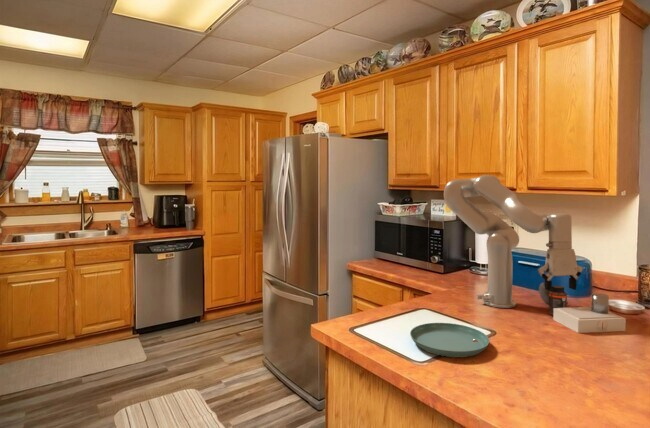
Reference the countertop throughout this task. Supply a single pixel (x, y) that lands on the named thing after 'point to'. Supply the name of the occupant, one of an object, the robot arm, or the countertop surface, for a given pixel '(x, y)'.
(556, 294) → the supplement bottle
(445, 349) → the saucer
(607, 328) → the scale
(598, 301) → the spacer
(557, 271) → the robot arm
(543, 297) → the perforated stone tool
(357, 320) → the countertop surface
